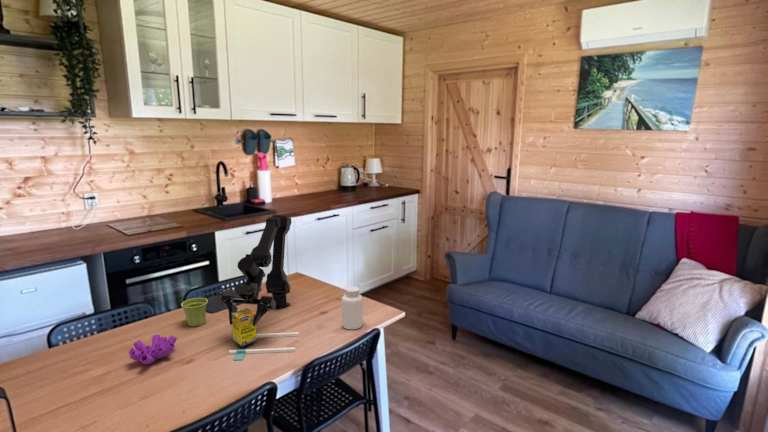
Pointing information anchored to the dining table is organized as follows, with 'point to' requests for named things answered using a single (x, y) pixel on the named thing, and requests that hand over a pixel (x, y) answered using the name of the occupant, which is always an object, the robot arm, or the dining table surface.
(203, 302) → the plant pot
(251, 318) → the supplement box
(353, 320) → the pill bottle
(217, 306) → the dark slate chunk
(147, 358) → the purple coral
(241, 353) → the channel
